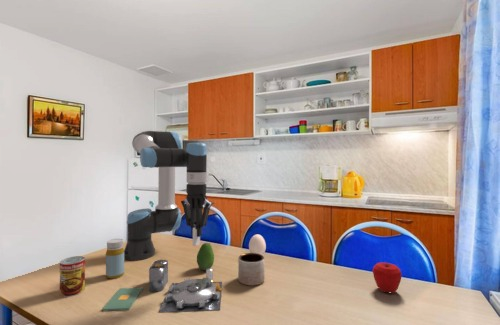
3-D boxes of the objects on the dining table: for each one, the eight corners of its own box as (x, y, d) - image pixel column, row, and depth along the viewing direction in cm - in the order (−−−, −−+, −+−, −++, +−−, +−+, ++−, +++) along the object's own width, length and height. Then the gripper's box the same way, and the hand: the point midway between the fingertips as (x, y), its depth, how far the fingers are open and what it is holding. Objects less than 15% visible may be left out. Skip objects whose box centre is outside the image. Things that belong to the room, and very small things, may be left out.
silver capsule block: (155, 278, 110) (155, 259, 110) (169, 278, 111) (169, 259, 111) (147, 292, 99) (147, 271, 99) (162, 292, 99) (162, 270, 99)
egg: (255, 252, 142) (255, 231, 142) (268, 256, 137) (269, 234, 137) (245, 257, 135) (245, 235, 135) (259, 261, 130) (259, 238, 130)
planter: (232, 280, 109) (232, 257, 109) (250, 272, 117) (250, 250, 117) (252, 289, 102) (252, 264, 102) (269, 279, 110) (269, 257, 110)
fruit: (217, 267, 122) (217, 241, 122) (207, 274, 115) (207, 246, 115) (203, 264, 125) (203, 239, 125) (193, 271, 118) (193, 244, 118)
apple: (398, 287, 104) (399, 259, 104) (404, 299, 95) (404, 269, 95) (371, 283, 107) (371, 256, 107) (373, 294, 98) (374, 265, 98)
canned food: (58, 298, 94) (57, 265, 94) (61, 289, 101) (61, 258, 101) (84, 293, 98) (83, 261, 98) (85, 284, 105) (85, 254, 105)
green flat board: (119, 289, 101) (119, 288, 101) (142, 289, 102) (142, 287, 102) (102, 310, 87) (102, 308, 87) (128, 310, 88) (128, 307, 88)
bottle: (116, 279, 109) (116, 243, 109) (102, 278, 111) (101, 242, 110) (127, 272, 116) (127, 238, 116) (113, 271, 118) (113, 237, 117)
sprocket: (210, 278, 110) (210, 258, 110) (229, 300, 93) (229, 277, 93) (161, 288, 101) (161, 267, 101) (172, 315, 84) (172, 290, 84)
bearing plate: (172, 283, 106) (172, 282, 106) (222, 282, 108) (222, 280, 108) (158, 312, 86) (158, 310, 86) (220, 310, 88) (220, 308, 88)
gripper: (176, 183, 100) (176, 245, 101) (205, 185, 95) (205, 250, 96) (188, 181, 107) (188, 239, 108) (216, 183, 102) (216, 243, 102)
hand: (196, 244), depth 102 cm, fingers closed
